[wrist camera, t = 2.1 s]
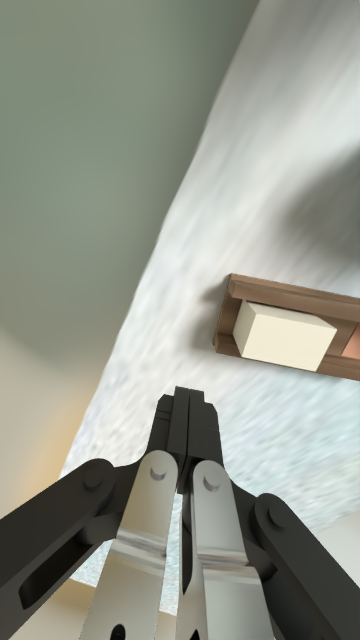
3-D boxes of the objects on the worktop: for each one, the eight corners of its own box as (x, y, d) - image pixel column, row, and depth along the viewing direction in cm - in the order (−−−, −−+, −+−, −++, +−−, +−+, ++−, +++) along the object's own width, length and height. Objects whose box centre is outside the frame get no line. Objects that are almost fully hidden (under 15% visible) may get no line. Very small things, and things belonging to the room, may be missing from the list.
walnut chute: (231, 273, 26) (237, 278, 22) (403, 306, 25) (438, 317, 22) (212, 342, 29) (214, 356, 26) (362, 371, 29) (387, 390, 25)
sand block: (243, 297, 25) (256, 313, 20) (306, 310, 25) (337, 329, 20) (232, 333, 27) (241, 356, 22) (291, 344, 27) (315, 371, 22)
